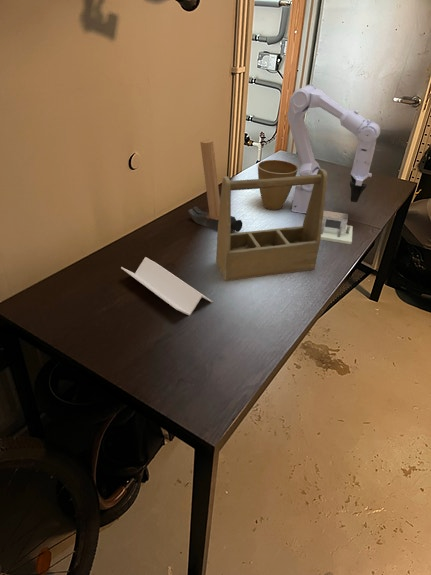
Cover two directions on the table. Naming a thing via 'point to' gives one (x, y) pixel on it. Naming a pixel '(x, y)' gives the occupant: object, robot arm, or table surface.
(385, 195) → the table surface
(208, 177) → the hammer
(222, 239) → the caddy
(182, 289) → the z bracket
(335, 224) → the block
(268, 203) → the plant pot
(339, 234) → the peg board
